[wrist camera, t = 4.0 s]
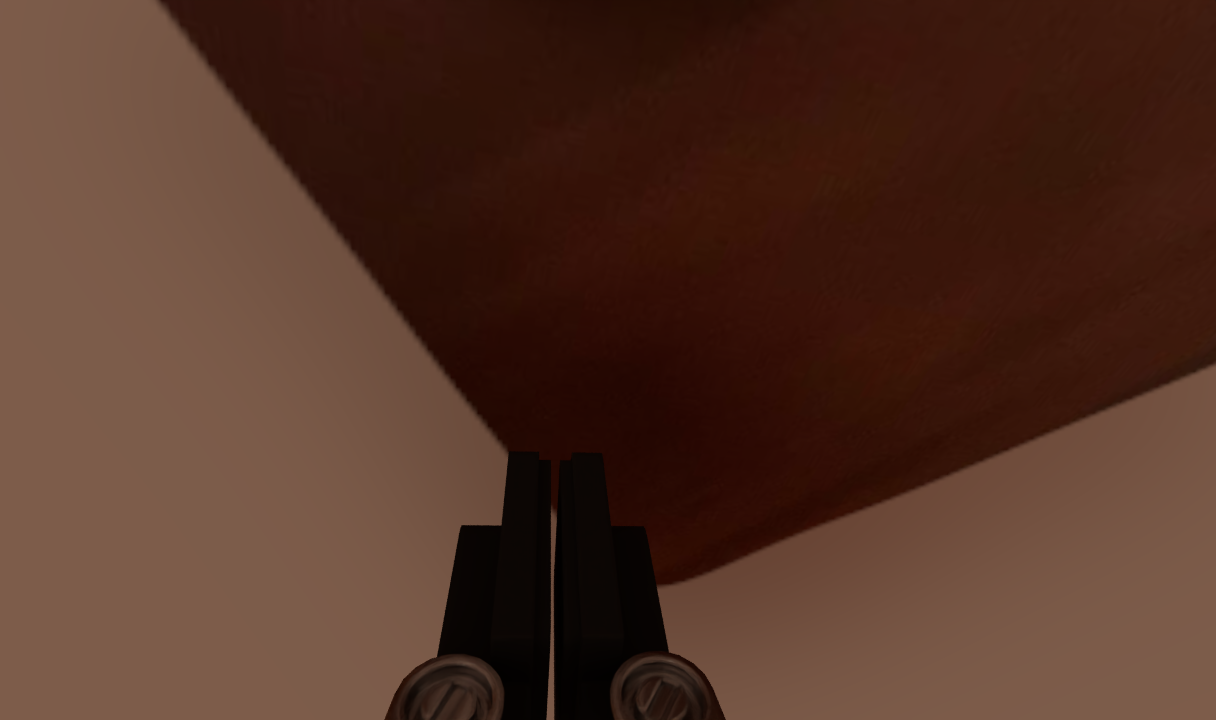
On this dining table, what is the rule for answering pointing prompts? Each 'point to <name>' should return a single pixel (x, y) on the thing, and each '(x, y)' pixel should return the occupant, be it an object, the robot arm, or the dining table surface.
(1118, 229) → the dining table surface
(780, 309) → the dining table surface
